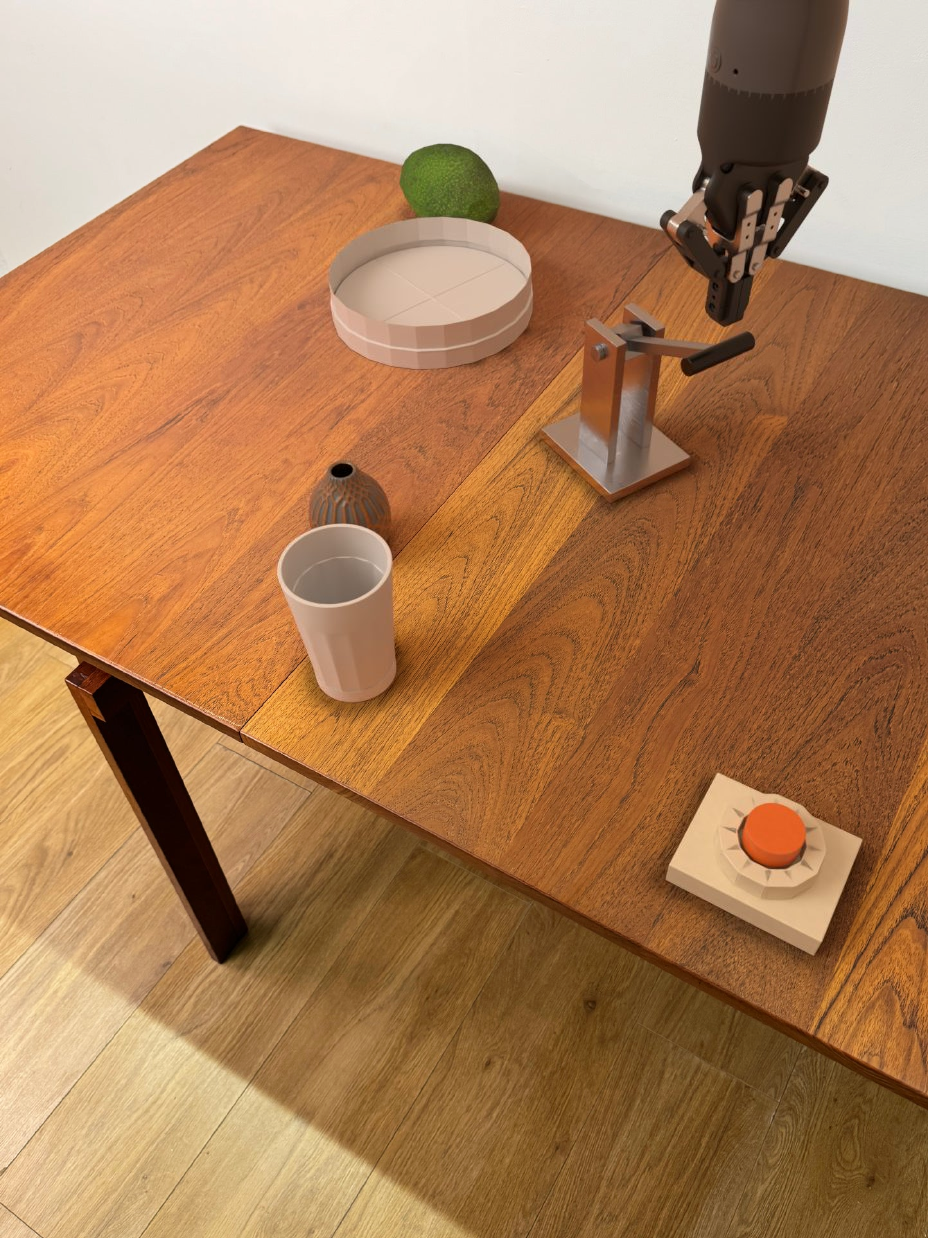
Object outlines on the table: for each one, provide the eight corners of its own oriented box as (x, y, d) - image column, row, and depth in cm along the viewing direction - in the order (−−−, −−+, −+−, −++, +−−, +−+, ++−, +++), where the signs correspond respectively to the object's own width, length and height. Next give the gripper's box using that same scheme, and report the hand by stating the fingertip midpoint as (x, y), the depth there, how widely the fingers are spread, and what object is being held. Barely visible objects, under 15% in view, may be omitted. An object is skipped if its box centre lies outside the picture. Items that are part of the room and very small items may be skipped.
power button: (808, 832, 63) (814, 819, 62) (788, 877, 61) (794, 864, 60) (754, 807, 65) (759, 793, 63) (732, 850, 63) (737, 837, 61)
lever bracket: (689, 466, 92) (711, 337, 81) (609, 503, 89) (622, 375, 78) (616, 404, 98) (628, 277, 87) (540, 438, 95) (543, 310, 85)
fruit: (384, 213, 124) (375, 131, 117) (452, 190, 127) (448, 109, 120) (444, 266, 116) (439, 182, 108) (516, 240, 119) (516, 157, 111)
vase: (364, 507, 90) (352, 430, 83) (411, 548, 86) (401, 471, 80) (300, 543, 87) (282, 467, 81) (345, 587, 84) (330, 511, 77)
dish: (294, 305, 112) (286, 264, 108) (449, 236, 120) (447, 195, 116) (412, 397, 100) (408, 354, 96) (575, 313, 108) (577, 271, 105)
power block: (854, 855, 66) (870, 825, 63) (813, 956, 62) (828, 930, 59) (712, 788, 70) (721, 757, 67) (665, 880, 66) (672, 851, 62)
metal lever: (757, 356, 75) (753, 325, 74) (695, 384, 73) (690, 352, 72) (644, 342, 87) (639, 315, 86) (588, 366, 85) (582, 338, 84)
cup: (426, 653, 79) (414, 546, 70) (369, 727, 74) (349, 623, 65) (343, 616, 82) (321, 509, 72) (284, 685, 77) (253, 580, 68)
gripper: (727, 113, 55) (686, 376, 68) (900, 54, 59) (830, 313, 72) (642, 68, 59) (619, 324, 72) (809, 16, 63) (758, 267, 76)
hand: (724, 318), depth 72 cm, fingers closed
